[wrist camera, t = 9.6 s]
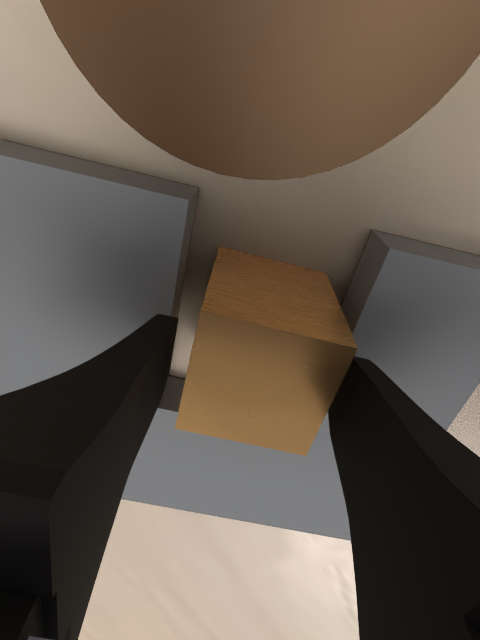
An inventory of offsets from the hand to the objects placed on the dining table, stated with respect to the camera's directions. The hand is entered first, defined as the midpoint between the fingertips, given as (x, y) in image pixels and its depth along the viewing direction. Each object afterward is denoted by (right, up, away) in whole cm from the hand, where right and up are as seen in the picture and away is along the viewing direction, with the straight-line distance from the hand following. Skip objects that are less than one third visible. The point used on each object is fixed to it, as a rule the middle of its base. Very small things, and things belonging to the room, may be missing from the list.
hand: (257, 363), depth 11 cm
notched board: (-1, -1, +4) cm, 5 cm away
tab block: (0, +2, +3) cm, 4 cm away
